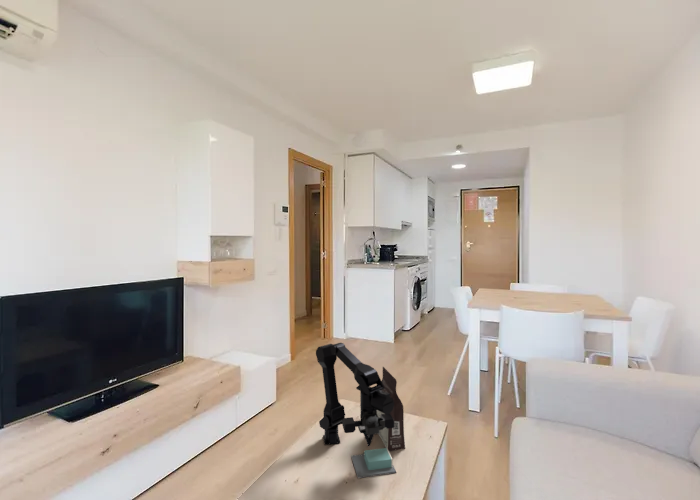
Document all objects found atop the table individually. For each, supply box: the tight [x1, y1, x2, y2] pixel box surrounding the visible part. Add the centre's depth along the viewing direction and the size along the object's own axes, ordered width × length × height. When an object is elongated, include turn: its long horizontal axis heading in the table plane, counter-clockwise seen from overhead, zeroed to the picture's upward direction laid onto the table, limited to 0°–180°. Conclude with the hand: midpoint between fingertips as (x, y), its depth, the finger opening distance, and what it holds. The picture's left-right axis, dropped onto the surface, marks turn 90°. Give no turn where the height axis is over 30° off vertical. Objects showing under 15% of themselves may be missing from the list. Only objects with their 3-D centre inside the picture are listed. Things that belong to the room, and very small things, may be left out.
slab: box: [363, 447, 394, 470], centre depth 131 cm, size 7×3×9 cm
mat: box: [351, 453, 397, 479], centre depth 130 cm, size 12×14×1 cm
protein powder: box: [377, 366, 406, 452], centre depth 147 cm, size 16×9×28 cm, turn 14°
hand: (368, 445), depth 130 cm, fingers closed
